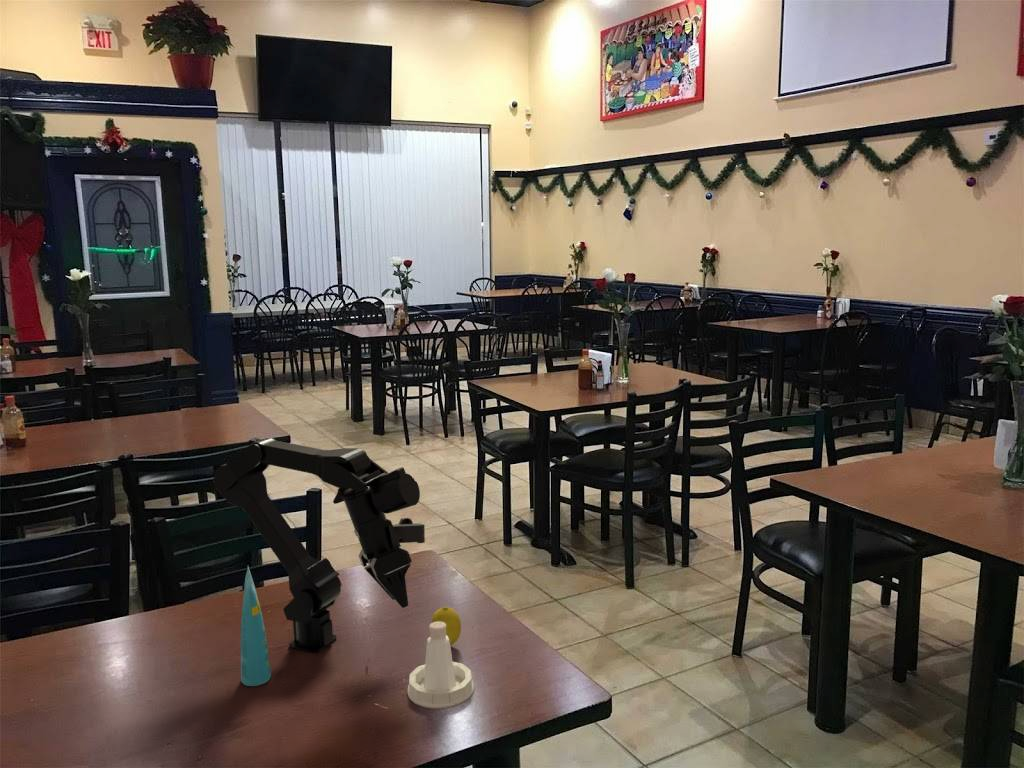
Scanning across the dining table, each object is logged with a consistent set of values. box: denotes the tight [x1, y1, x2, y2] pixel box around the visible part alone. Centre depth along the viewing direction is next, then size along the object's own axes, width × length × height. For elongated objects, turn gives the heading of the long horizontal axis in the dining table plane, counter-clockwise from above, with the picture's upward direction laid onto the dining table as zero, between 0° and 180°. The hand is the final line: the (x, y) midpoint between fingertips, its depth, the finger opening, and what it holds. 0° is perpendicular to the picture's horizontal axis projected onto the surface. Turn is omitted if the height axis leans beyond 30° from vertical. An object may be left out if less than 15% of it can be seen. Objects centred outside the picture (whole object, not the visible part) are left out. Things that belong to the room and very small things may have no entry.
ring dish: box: [407, 661, 475, 710], centre depth 134 cm, size 11×11×2 cm
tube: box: [240, 565, 272, 687], centre depth 137 cm, size 7×5×19 cm, turn 26°
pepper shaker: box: [424, 622, 456, 691], centre depth 134 cm, size 5×5×11 cm
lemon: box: [430, 605, 462, 646], centre depth 148 cm, size 6×6×8 cm
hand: (400, 602), depth 142 cm, fingers open, 9 cm apart
